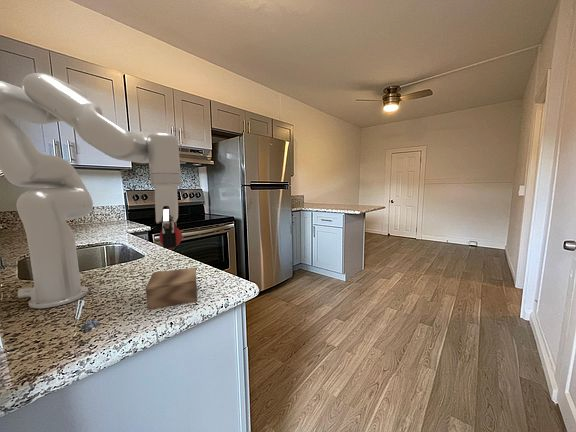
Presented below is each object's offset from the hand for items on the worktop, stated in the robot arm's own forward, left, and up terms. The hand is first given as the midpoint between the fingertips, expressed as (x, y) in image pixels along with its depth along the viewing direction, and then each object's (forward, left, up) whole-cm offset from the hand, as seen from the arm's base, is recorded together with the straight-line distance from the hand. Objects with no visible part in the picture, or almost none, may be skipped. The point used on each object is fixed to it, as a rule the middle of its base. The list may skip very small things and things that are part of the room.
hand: (171, 244), depth 69 cm
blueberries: (-18, -9, -16) cm, 26 cm away
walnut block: (0, 0, -15) cm, 15 cm away
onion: (0, 0, -2) cm, 2 cm away
